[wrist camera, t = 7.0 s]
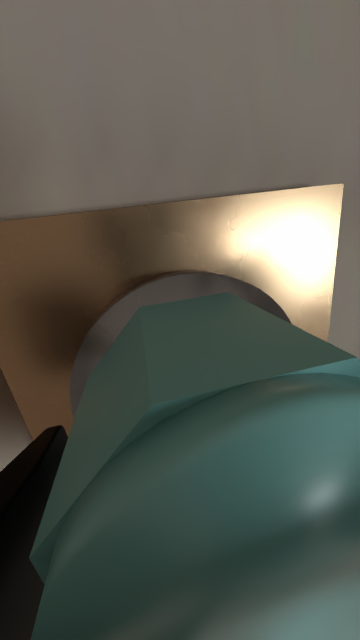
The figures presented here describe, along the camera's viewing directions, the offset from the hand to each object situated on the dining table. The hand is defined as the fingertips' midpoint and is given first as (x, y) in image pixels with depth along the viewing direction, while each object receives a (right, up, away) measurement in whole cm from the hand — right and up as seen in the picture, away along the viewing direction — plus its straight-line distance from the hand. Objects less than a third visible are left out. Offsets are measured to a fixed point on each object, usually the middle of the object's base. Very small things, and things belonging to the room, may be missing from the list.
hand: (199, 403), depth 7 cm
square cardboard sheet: (-1, +1, +2) cm, 3 cm away
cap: (0, 0, +1) cm, 1 cm away
